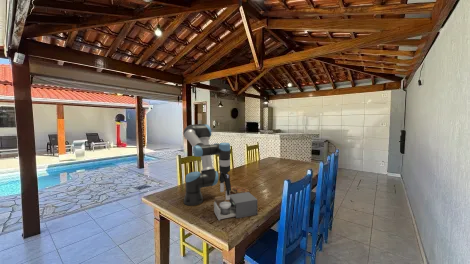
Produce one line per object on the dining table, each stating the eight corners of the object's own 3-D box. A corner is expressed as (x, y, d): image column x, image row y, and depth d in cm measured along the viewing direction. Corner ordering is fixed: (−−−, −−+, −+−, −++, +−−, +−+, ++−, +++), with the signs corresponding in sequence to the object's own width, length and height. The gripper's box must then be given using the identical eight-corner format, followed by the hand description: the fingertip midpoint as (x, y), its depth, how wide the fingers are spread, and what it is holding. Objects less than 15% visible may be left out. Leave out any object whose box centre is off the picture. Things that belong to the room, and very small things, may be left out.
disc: (218, 204, 135) (218, 202, 135) (229, 202, 137) (229, 200, 137) (221, 209, 127) (221, 207, 127) (232, 207, 130) (232, 205, 130)
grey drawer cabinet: (228, 208, 141) (228, 194, 140) (248, 205, 147) (248, 191, 146) (235, 218, 127) (235, 203, 126) (257, 214, 133) (257, 199, 132)
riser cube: (215, 204, 148) (215, 197, 148) (222, 203, 150) (222, 196, 150) (217, 208, 142) (216, 200, 142) (224, 206, 144) (224, 199, 144)
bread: (224, 198, 160) (224, 187, 159) (231, 194, 169) (231, 183, 168) (244, 203, 150) (244, 191, 149) (250, 198, 159) (250, 187, 158)
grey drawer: (214, 211, 136) (213, 201, 136) (234, 208, 141) (234, 198, 141) (218, 220, 124) (218, 209, 124) (240, 216, 130) (240, 205, 129)
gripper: (215, 161, 141) (215, 189, 142) (224, 170, 117) (224, 204, 119) (224, 160, 143) (224, 188, 145) (236, 169, 120) (236, 202, 122)
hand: (224, 195), depth 132 cm, fingers open, 13 cm apart
